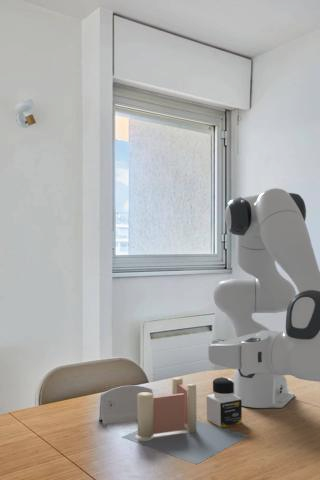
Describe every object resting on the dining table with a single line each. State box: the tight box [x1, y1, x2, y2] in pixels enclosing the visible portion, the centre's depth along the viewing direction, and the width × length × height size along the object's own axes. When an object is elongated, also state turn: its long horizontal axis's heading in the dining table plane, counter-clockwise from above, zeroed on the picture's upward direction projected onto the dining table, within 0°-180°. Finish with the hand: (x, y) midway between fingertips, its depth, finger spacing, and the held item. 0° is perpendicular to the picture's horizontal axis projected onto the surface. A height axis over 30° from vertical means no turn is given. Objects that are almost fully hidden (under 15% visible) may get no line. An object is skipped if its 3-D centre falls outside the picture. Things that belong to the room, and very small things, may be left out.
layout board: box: [121, 420, 249, 465], centre depth 122 cm, size 22×24×1 cm
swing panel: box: [137, 392, 185, 437], centre depth 122 cm, size 13×4×10 cm, turn 112°
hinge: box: [98, 385, 155, 426], centre depth 138 cm, size 17×5×10 cm, turn 108°
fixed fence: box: [171, 377, 197, 433], centre depth 131 cm, size 14×3×12 cm, turn 18°
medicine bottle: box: [206, 376, 243, 428], centre depth 133 cm, size 7×7×12 cm
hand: (215, 343), depth 111 cm, fingers closed
